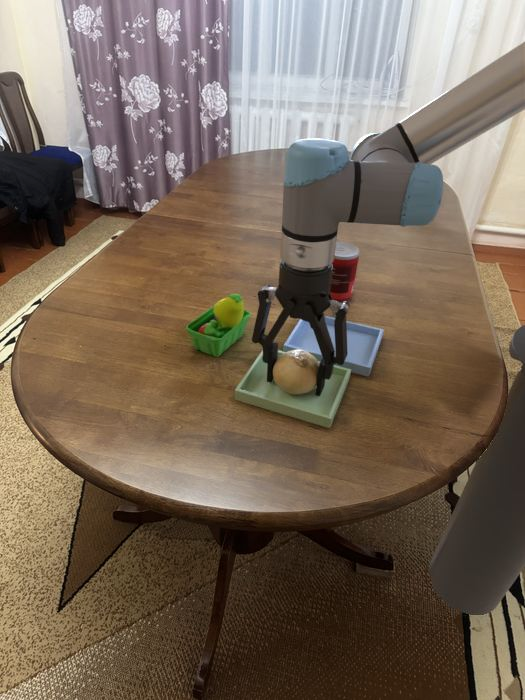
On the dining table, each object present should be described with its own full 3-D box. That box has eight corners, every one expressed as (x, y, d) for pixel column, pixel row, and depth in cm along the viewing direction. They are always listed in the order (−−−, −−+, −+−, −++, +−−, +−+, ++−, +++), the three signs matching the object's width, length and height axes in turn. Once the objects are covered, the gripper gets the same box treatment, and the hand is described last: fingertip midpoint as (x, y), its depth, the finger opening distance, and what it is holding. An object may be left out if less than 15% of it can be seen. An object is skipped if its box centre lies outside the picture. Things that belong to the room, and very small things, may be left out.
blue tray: (381, 338, 92) (383, 329, 91) (368, 377, 83) (370, 367, 81) (304, 319, 97) (305, 311, 96) (282, 354, 87) (283, 345, 86)
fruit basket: (220, 322, 95) (218, 272, 88) (257, 336, 92) (258, 285, 85) (185, 350, 87) (181, 297, 80) (224, 366, 84) (223, 312, 77)
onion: (262, 385, 78) (263, 352, 74) (291, 364, 83) (294, 331, 79) (300, 408, 74) (303, 373, 70) (328, 384, 79) (333, 350, 75)
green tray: (349, 378, 82) (351, 369, 81) (329, 428, 72) (331, 419, 71) (264, 355, 87) (264, 346, 85) (234, 399, 77) (234, 390, 75)
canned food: (339, 282, 110) (346, 239, 104) (359, 298, 105) (367, 253, 98) (311, 288, 108) (316, 244, 101) (330, 305, 102) (336, 259, 95)
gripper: (228, 257, 65) (230, 381, 79) (375, 287, 59) (350, 415, 73) (249, 237, 71) (247, 356, 84) (385, 263, 65) (360, 386, 79)
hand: (295, 383), depth 79 cm, fingers closed on onion, 8 cm apart
